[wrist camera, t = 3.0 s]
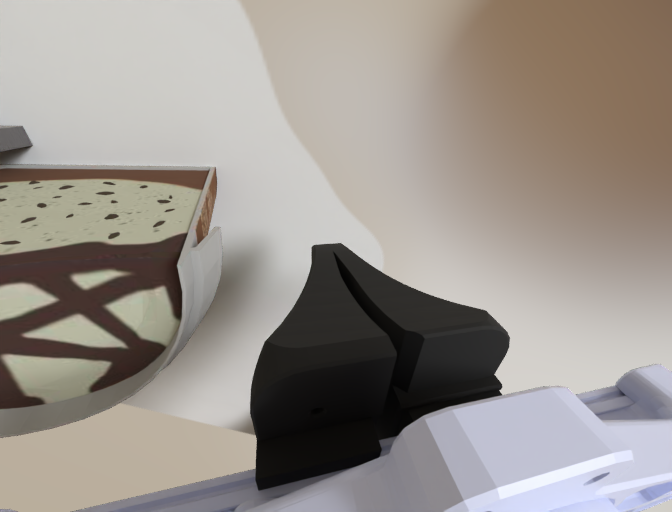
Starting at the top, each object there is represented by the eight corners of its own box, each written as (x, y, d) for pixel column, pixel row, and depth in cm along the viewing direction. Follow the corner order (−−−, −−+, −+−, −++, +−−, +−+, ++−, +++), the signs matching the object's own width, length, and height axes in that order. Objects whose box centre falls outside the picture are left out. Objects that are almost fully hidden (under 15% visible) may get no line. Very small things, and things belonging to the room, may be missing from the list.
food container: (34, 273, 15) (-268, 496, 7) (-39, 163, 12) (-808, 324, 3) (255, 260, 17) (241, 407, 9) (244, 167, 14) (205, 263, 6)
